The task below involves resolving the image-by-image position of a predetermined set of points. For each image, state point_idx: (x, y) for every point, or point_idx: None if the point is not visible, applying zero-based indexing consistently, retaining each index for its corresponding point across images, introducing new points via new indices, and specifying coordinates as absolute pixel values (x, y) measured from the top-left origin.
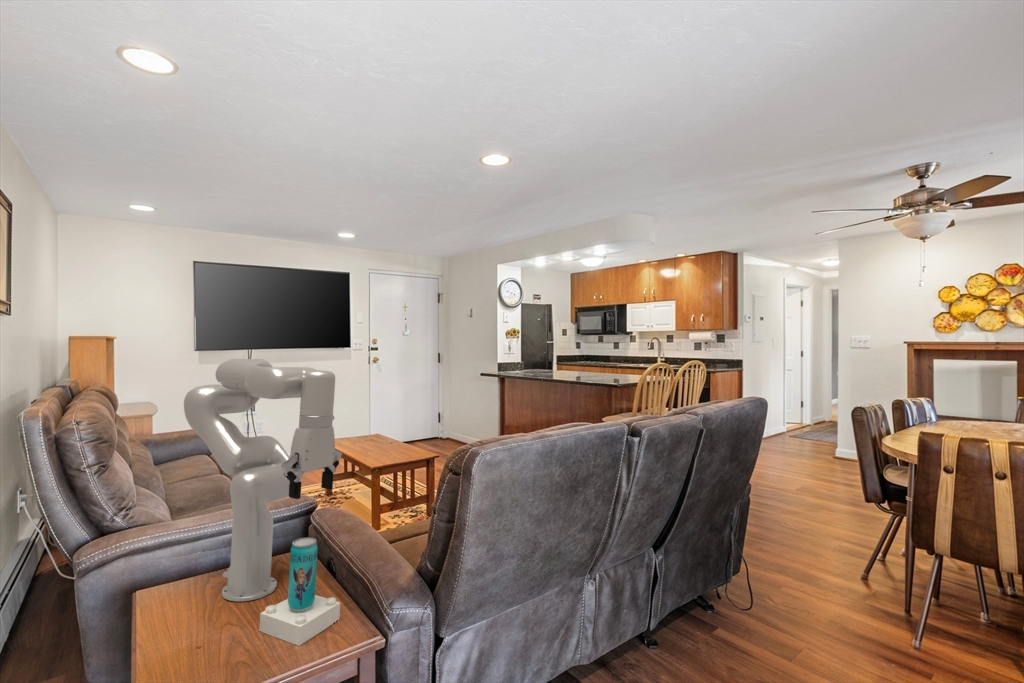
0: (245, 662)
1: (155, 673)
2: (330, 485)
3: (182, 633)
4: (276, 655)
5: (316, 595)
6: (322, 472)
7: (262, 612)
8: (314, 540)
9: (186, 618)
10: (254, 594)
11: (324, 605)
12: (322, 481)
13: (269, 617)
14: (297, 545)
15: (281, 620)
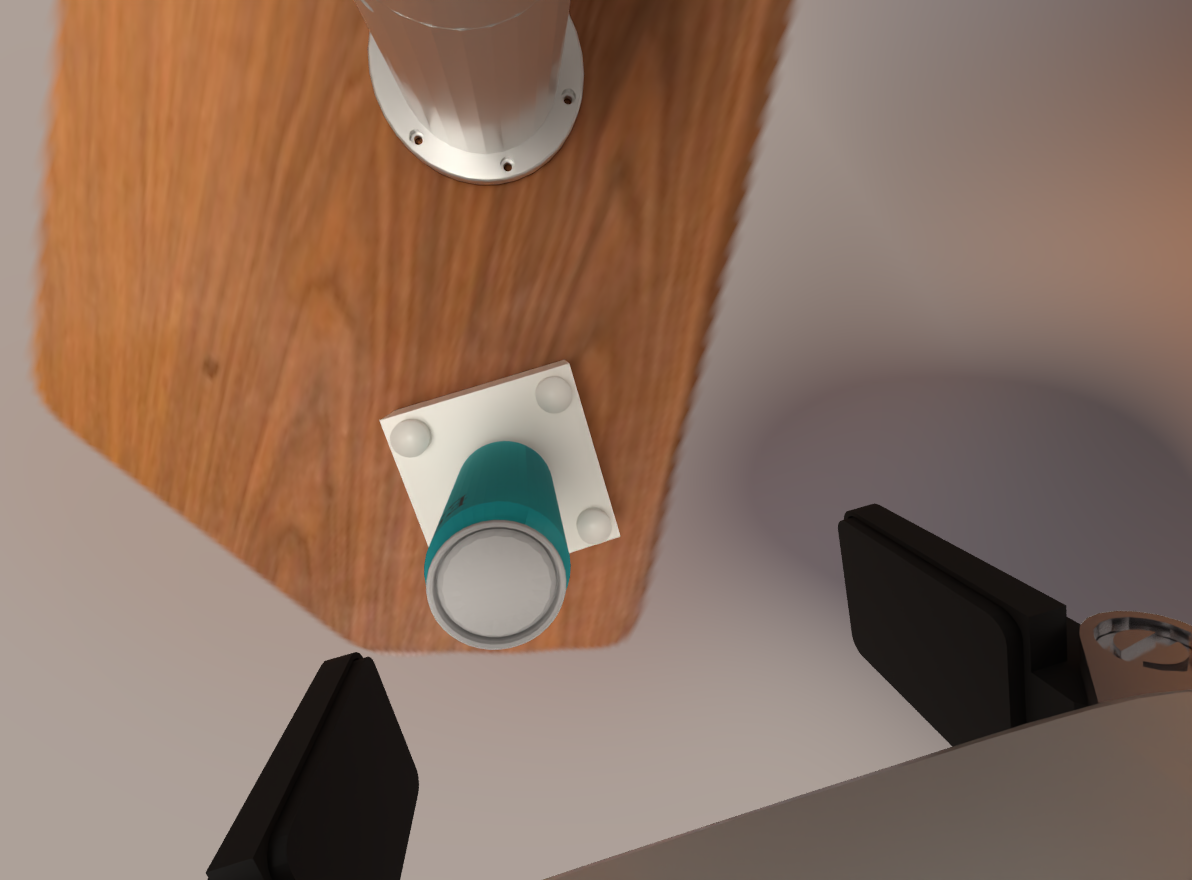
0: (303, 543)
1: (70, 426)
2: (890, 675)
3: (181, 236)
4: (385, 567)
5: (588, 434)
6: (1011, 612)
7: (387, 421)
8: (559, 585)
9: (214, 128)
10: (462, 164)
11: (572, 519)
12: (891, 563)
13: (397, 463)
14: (436, 619)
15: (417, 516)
